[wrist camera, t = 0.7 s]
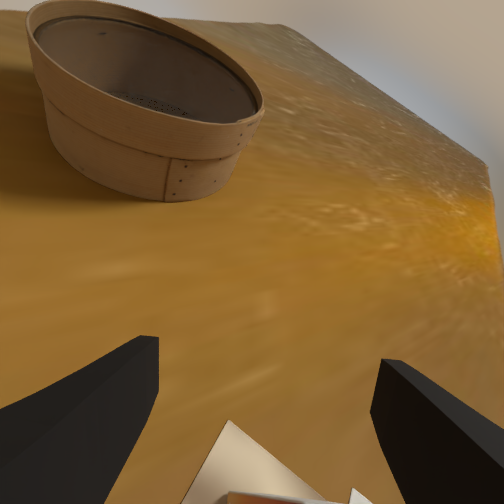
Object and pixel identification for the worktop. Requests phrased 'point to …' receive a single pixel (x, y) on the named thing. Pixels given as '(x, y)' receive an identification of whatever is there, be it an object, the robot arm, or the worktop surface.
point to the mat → (357, 498)
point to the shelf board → (243, 472)
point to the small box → (268, 499)
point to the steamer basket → (133, 116)
